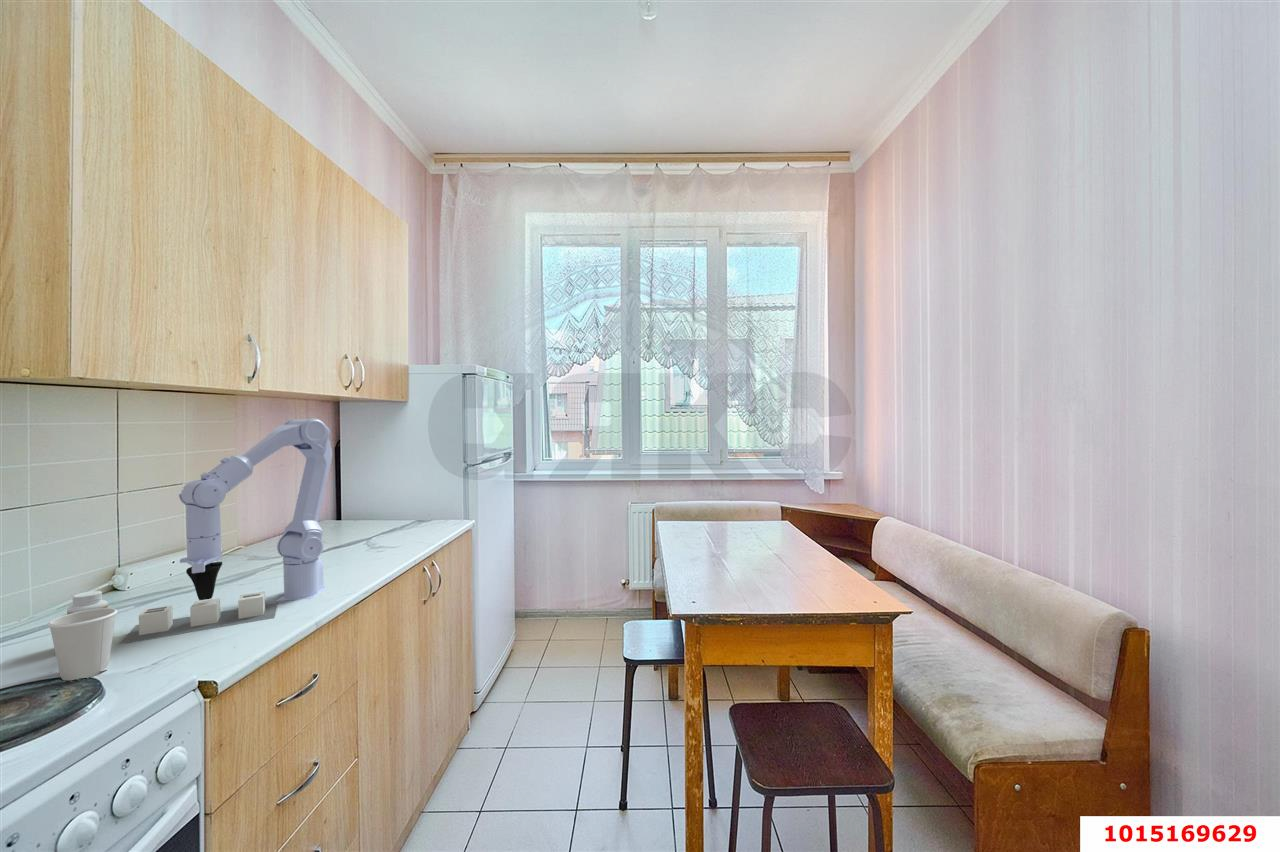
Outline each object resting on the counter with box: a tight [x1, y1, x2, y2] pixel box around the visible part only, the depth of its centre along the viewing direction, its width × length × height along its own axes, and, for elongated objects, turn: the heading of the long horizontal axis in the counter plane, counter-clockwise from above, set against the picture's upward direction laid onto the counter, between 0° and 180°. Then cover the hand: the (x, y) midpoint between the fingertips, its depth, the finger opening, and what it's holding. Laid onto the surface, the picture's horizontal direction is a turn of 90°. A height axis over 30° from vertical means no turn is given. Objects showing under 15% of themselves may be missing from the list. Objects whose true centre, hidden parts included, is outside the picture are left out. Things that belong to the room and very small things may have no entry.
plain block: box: [189, 598, 221, 627], centre depth 115 cm, size 4×4×4 cm
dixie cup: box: [47, 607, 118, 681], centre depth 92 cm, size 8×8×10 cm
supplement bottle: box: [66, 590, 109, 615], centre depth 105 cm, size 6×6×10 cm
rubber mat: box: [117, 602, 279, 645], centre depth 115 cm, size 25×12×1 cm, turn 121°
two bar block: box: [138, 604, 174, 635], centre depth 111 cm, size 4×4×4 cm
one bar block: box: [237, 591, 266, 619], centre depth 119 cm, size 4×4×4 cm
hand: (205, 598), depth 115 cm, fingers closed
